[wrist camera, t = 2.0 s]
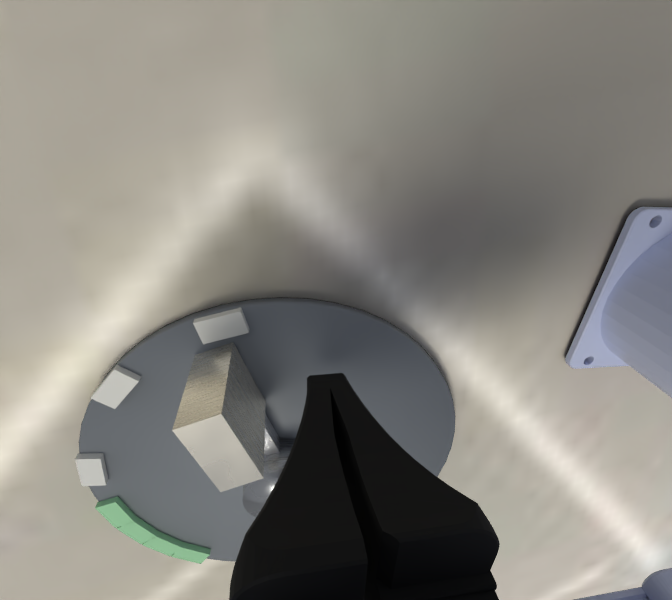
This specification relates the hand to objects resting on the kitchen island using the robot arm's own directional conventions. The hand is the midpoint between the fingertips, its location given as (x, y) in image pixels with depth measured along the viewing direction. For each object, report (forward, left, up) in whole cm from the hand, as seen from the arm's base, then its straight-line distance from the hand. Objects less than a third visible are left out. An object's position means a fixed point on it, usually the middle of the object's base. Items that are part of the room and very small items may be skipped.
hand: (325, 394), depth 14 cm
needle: (+3, +4, -2) cm, 5 cm away
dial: (+2, +6, -3) cm, 7 cm away
